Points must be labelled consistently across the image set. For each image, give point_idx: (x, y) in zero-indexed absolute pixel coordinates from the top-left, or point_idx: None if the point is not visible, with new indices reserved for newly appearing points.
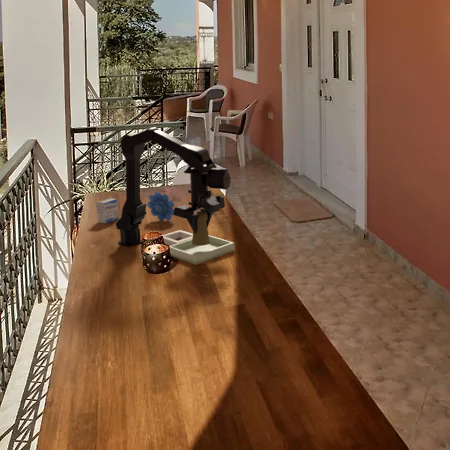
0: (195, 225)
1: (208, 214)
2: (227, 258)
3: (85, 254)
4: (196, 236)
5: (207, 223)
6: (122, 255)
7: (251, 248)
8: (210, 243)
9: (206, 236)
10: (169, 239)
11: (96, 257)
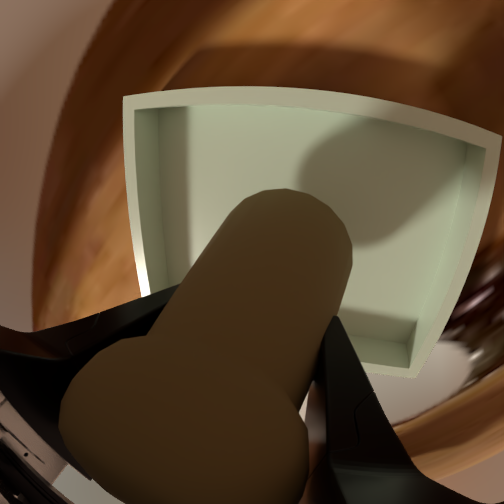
0: (360, 386)
1: (52, 378)
2: (269, 33)
3: (457, 467)
4: (341, 291)
5: (143, 312)
6: (452, 432)
7: (94, 72)
8: (176, 257)
9: (264, 219)
10: (301, 413)
11: (474, 450)
